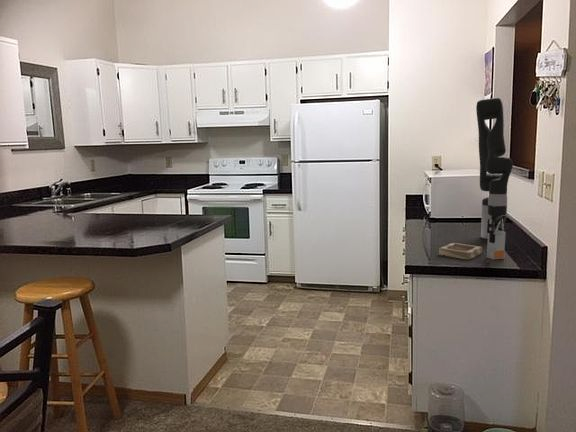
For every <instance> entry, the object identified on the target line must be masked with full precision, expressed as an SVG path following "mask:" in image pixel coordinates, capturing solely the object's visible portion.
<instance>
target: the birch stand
mask: <svg viewBox="0 0 576 432" xmlns="http://www.w3.org/2000/svg"><path fill="white" fill-rule="evenodd" d="M482 253H483V246H479V245H472V244H464V243H460V242H459V243H458V242H451V243H449V244H447V245H444V246H442V247H439V249H438V255H439V256H443V255H445V256H444V257H451V258H456V259H457V258H458V259H463V260H472V259H473V258H475V257H477V256H479V255H481V254H482Z"/></svg>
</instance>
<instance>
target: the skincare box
mask: <svg viewBox="0 0 576 432" xmlns="http://www.w3.org/2000/svg"><path fill="white" fill-rule="evenodd" d="M506 233H507V232H506V231H501V230H496V233H495V243H490V242H489V235H490V234H489V233H488V239H487V247H486V258H488V259H490V260H500V259H502V260H503V259H505V249H506V235H507V234H506Z"/></svg>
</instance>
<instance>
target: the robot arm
mask: <svg viewBox="0 0 576 432" xmlns="http://www.w3.org/2000/svg"><path fill="white" fill-rule="evenodd" d="M475 107H476V110H475V111H476V120H477V127H478V130H477V131H478V154H479V155H478V157H479V188H480V190H481V192H482V191H483V192H488V197H484V198H483V199H482V201H481V225H480V227H481V229H480V238H482V239H484V240H488V233H489V234H490V235H489V242H490V243H495V233H496V230H501V231H504V230H506V220H507V219H506V218H507V217H506V216H507V214H508V212H507V211H508V183H509V178H510V176H511V173H512V170H513V165H514V161H513V160H512V159H511V157H509V156H505V154H506V150H507V149H506V143H505V136H504V128H505V126H504V124H505V123H504V121H505V120H504V105H503V101H502V99H501V98H500V97H493V98H486V99H480V100H478V101H477V103H476V106H475ZM489 120H495V123H494V125H493V126H492V128H489V126H488V124H487V123H486V121H489ZM504 232H505V231H504Z"/></svg>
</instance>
